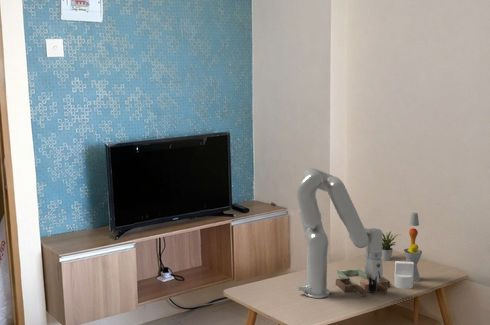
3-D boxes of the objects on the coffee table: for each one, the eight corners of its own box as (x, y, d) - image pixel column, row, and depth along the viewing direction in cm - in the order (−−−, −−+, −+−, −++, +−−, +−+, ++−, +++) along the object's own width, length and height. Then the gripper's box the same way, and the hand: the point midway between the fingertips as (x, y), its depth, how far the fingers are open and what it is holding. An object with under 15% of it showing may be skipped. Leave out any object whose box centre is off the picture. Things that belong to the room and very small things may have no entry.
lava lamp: (399, 276, 299) (401, 211, 294) (414, 275, 301) (417, 210, 296) (408, 282, 290) (411, 215, 285) (424, 281, 293) (427, 214, 288)
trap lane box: (351, 298, 271) (352, 292, 270) (326, 277, 298) (326, 271, 298) (397, 292, 277) (398, 286, 277) (369, 273, 305) (369, 267, 304)
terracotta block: (364, 292, 278) (365, 284, 277) (359, 288, 284) (360, 280, 283) (376, 291, 279) (376, 283, 279) (371, 287, 285) (371, 279, 285)
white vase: (395, 288, 283) (396, 265, 281) (393, 281, 292) (394, 259, 290) (414, 289, 282) (415, 265, 280) (411, 282, 291) (412, 260, 289)
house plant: (396, 254, 336) (397, 227, 333) (404, 262, 322) (405, 234, 320) (372, 255, 335) (373, 228, 333) (379, 262, 321) (380, 234, 319)
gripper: (388, 258, 267) (387, 296, 270) (373, 249, 282) (372, 285, 284) (373, 260, 266) (372, 297, 268) (359, 250, 280) (358, 286, 283)
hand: (372, 291), depth 276 cm, fingers closed
